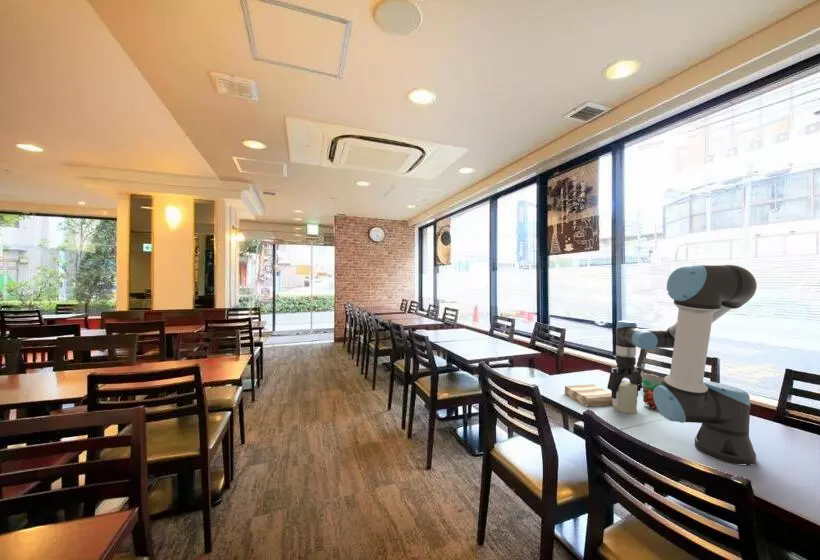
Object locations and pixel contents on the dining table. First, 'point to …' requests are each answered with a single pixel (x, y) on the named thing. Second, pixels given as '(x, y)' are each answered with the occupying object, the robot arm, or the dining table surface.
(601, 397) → the riser block
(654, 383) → the food container
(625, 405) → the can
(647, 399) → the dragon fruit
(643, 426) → the dining table surface
